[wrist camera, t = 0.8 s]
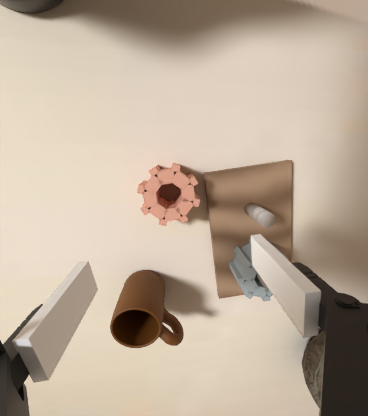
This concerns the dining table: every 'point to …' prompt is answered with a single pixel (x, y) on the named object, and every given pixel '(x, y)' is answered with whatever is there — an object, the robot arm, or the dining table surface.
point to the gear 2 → (248, 273)
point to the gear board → (238, 222)
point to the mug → (144, 313)
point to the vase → (314, 365)
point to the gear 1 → (161, 206)
